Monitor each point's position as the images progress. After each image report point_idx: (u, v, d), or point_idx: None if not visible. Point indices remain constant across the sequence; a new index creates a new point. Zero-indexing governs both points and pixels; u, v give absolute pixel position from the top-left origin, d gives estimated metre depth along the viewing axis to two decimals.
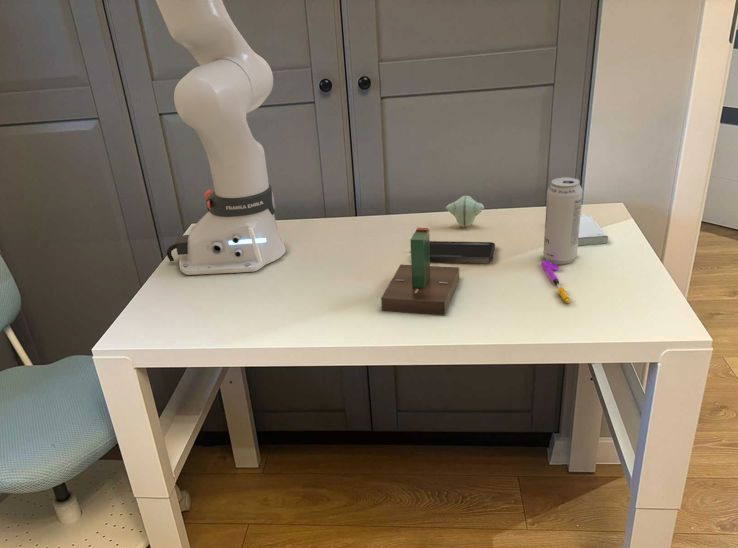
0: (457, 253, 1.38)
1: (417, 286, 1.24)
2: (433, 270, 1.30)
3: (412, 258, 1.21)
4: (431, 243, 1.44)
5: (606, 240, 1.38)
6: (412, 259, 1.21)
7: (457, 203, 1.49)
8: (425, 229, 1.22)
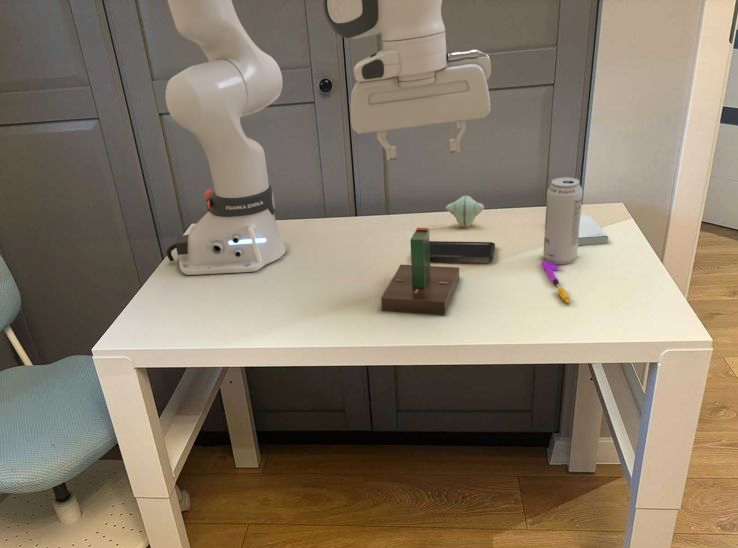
0: (457, 253, 1.38)
1: (417, 286, 1.24)
2: (433, 270, 1.30)
3: (412, 258, 1.21)
4: (431, 243, 1.44)
5: (606, 240, 1.38)
6: (412, 259, 1.21)
7: (457, 203, 1.49)
8: (425, 229, 1.22)
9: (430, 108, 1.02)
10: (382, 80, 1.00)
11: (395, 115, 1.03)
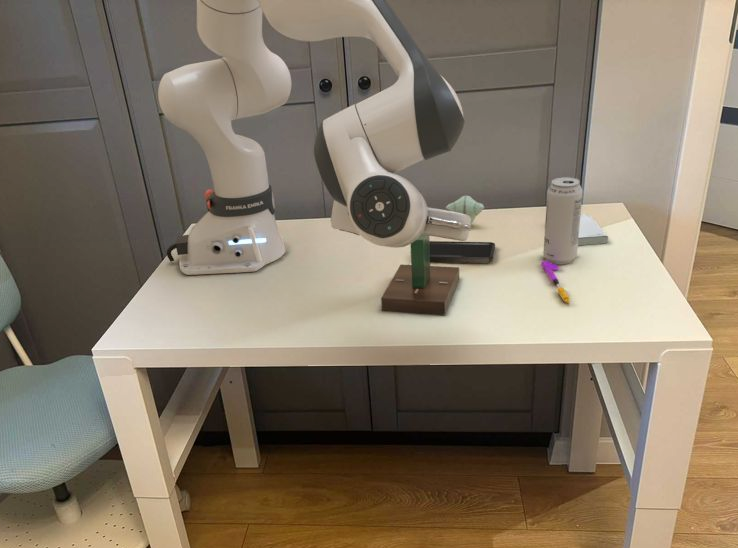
0: (457, 253, 1.38)
1: (417, 286, 1.24)
2: (433, 270, 1.30)
3: (412, 258, 1.21)
4: (431, 243, 1.44)
5: (606, 240, 1.38)
6: (412, 259, 1.21)
7: (457, 203, 1.49)
8: None
9: None
10: None
11: None
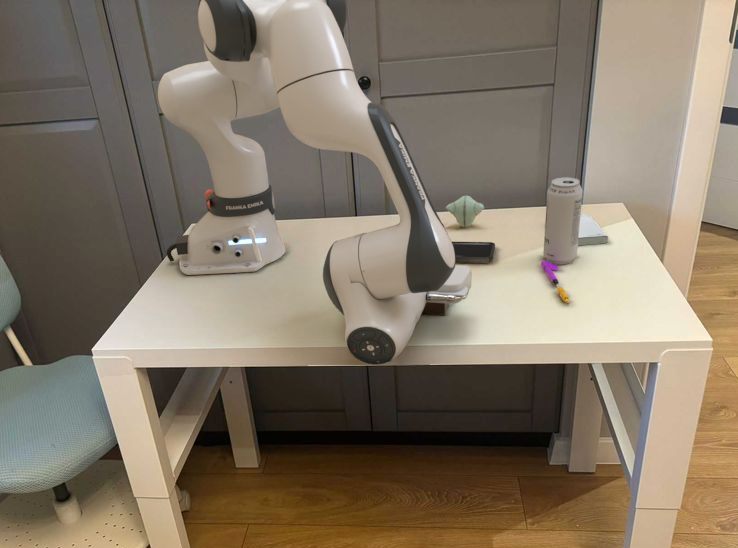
0: (457, 253, 1.38)
1: None
2: None
3: None
4: None
5: (606, 240, 1.38)
6: None
7: (457, 203, 1.49)
8: None
9: None
10: None
11: None
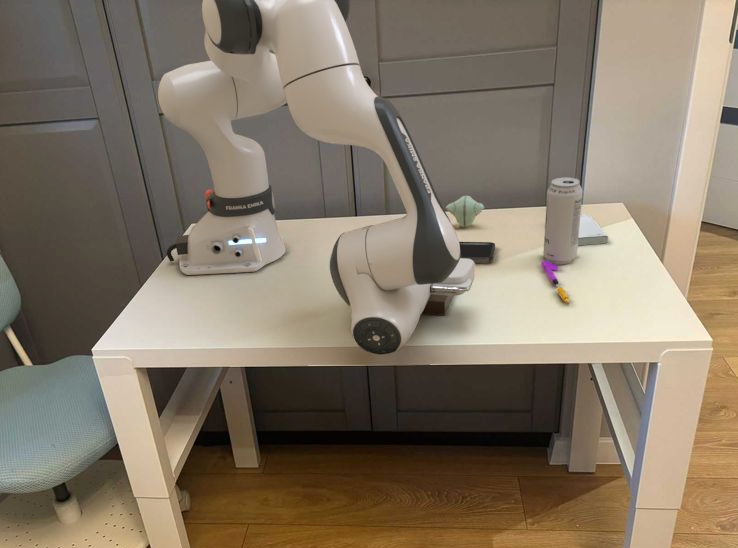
0: None
1: None
2: None
3: None
4: None
5: (606, 240, 1.38)
6: None
7: (457, 203, 1.49)
8: None
9: None
10: None
11: None
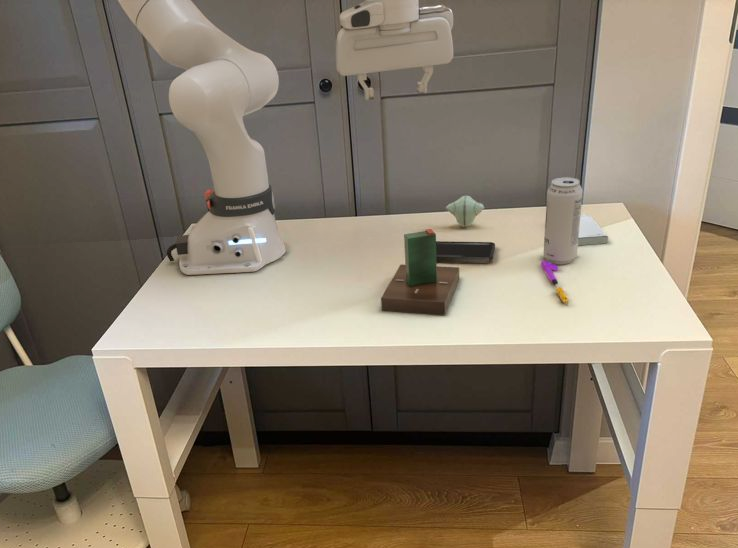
0: (457, 253, 1.38)
1: (407, 282, 1.26)
2: None
3: (405, 253, 1.23)
4: None
5: (606, 240, 1.38)
6: (405, 254, 1.24)
7: (457, 203, 1.49)
8: (430, 232, 1.21)
9: (405, 54, 1.21)
10: (367, 28, 1.18)
11: (375, 60, 1.21)
